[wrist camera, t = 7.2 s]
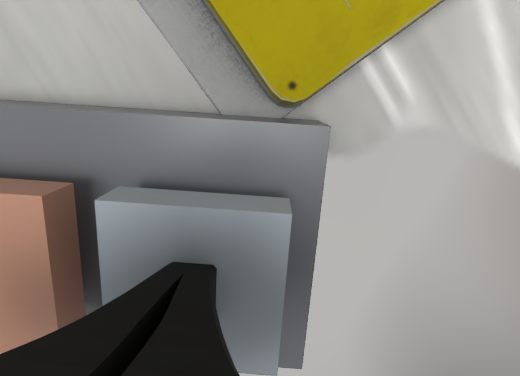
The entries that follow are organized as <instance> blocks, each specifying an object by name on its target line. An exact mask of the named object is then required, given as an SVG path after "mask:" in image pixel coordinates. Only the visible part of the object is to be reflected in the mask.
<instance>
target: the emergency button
mask: <svg viewBox="0 0 520 376" xmlns="http://www.w3.org/2000/svg"><path fill="white" fill-rule="evenodd" d="M443 1H444V0H138V2H139V3H140V4H141V6H142V7H143V9H144V10H145V11H146V13H147V14H148V15H149V17H150V18H151V20H152V21H153V22H154V24H155V25H156V26H157V28H158V29H159V30H160V32H161V33H162V35H163V36H164V37H165V39H166V40H167V41H168V43H169V44H170V46H171V47H172V48H173V50H174V51H175V52H176V54H177V55H178V56H179V58H180V59H181V61H182V62H183V63H184V65H185V66H186V67H187V69H188V70H189V71H190V73H191V74H192V76H193V77H194V78H195V80H196V81H197V82H198V84H199V85H200V87H201V88H202V89H203V91H204V92H205V93H206V95H207V96H208V97H209V99H210V100H211V102H212V103H213V104H214V106H215V107H216V108H217V110H218V111H219V113H220V114H223V115H238V116H253V117H269V118H283V117H284V116H285V115H287V114H288V113H289V112H291V111H292V110H294V109H295V108H296V107H298V106H299V105H301V104H302V103H303V102H305V101H306V100H307V99H309V98H310V97H312V96H313V95H314V94H316V93H317V92H318V91H320V90H321V89H323V88H324V87H325V86H327V85H328V84H330V83H331V82H332V81H334V80H335V79H336V78H338V77H339V76H341V75H342V74H343V73H345V72H346V71H348V70H349V69H350V68H352V67H353V66H354V65H356V64H357V63H359V62H360V61H361V60H363V59H364V58H365V57H367V56H368V55H370V54H371V53H372V52H374V51H375V50H377V49H378V48H379V47H381V46H382V45H383V44H385V43H386V42H388V41H389V40H390V39H392V38H393V37H394V36H396V35H397V34H399V33H400V32H401V31H403V30H404V29H406V28H407V27H408V26H410V25H411V24H412V23H414V22H415V21H417V20H418V19H419V18H421V17H422V16H423V15H425V14H426V13H428V12H429V11H430V10H432V9H433V8H435V7H436V6H437V5H439V4H440V3H441V2H443Z"/></svg>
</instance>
